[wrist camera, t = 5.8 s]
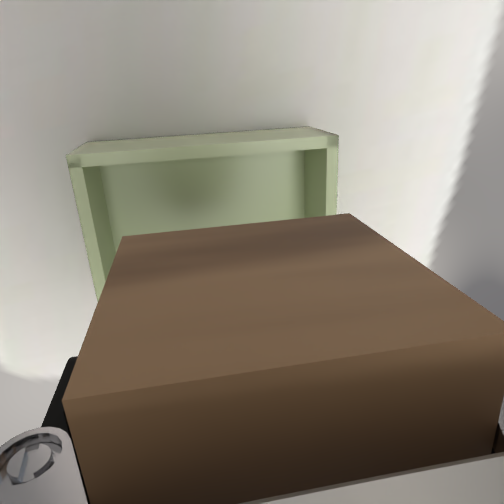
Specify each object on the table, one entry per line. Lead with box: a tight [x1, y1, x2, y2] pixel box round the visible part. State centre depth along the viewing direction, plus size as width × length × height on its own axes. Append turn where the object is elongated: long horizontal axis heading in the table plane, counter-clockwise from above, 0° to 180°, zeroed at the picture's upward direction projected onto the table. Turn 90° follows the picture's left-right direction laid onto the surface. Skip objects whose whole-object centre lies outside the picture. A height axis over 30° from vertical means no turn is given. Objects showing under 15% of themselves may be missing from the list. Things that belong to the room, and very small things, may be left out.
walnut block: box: [62, 213, 504, 504], centre depth 9 cm, size 6×6×6 cm
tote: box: [66, 127, 339, 301], centre depth 24 cm, size 9×13×5 cm
